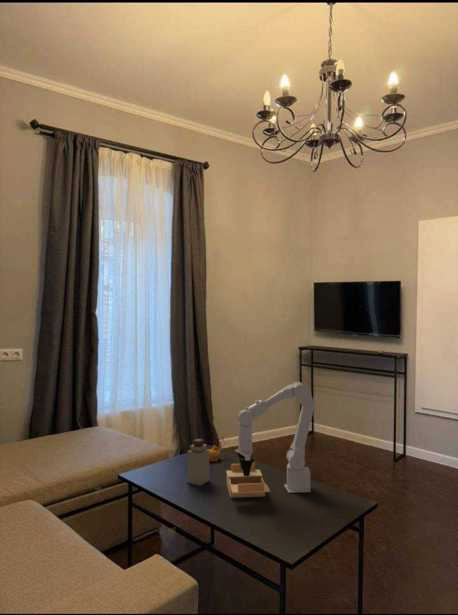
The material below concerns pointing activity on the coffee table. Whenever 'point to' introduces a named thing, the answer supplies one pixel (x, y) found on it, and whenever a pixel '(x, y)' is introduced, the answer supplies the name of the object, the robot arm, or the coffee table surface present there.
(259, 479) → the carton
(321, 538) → the coffee table surface
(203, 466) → the perfume bottle
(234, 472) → the far panel
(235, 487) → the near panel
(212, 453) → the magic lamp
